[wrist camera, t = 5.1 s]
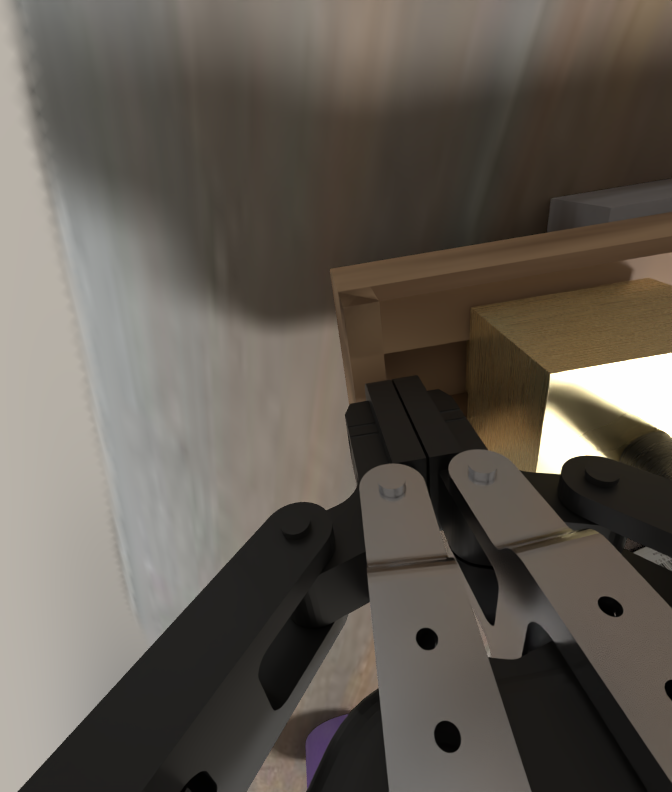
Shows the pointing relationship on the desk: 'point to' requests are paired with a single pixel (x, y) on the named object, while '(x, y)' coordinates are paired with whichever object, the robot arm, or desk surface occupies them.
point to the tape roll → (319, 744)
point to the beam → (492, 284)
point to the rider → (575, 377)
